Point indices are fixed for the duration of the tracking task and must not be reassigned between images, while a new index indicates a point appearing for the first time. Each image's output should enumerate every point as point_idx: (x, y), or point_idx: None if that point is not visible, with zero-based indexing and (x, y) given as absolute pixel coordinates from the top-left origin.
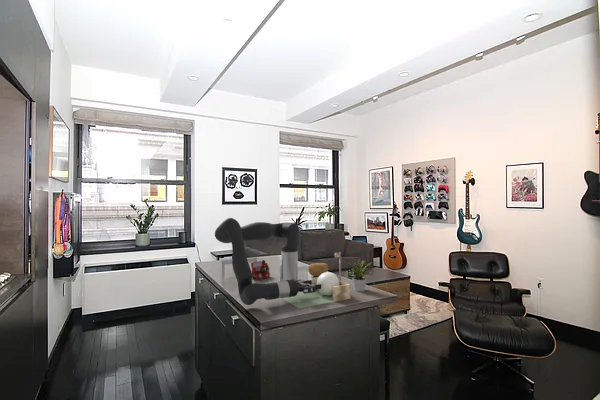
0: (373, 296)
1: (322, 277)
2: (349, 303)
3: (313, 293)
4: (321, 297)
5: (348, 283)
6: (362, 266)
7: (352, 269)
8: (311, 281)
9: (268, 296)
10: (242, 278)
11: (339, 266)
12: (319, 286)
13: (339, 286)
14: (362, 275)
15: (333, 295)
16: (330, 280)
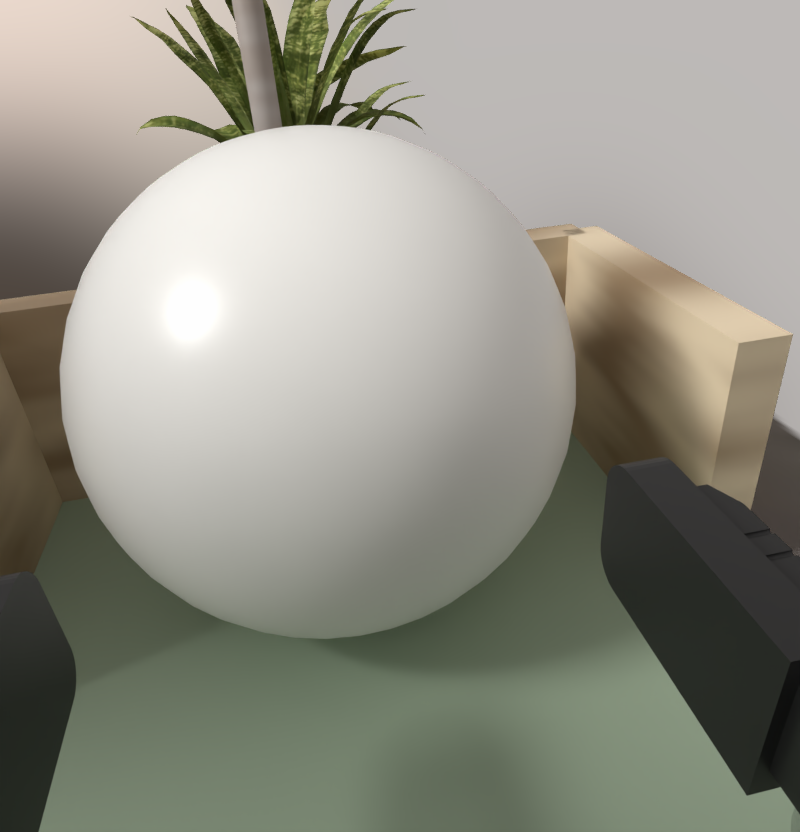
0: None
1: (395, 272)
2: (767, 447)
3: (98, 775)
4: (450, 699)
5: (533, 229)
6: None
7: (171, 123)
8: (39, 603)
9: None
10: None
11: (253, 11)
12: (759, 537)
13: (705, 291)
14: (414, 123)
15: (730, 493)
16: (544, 261)
